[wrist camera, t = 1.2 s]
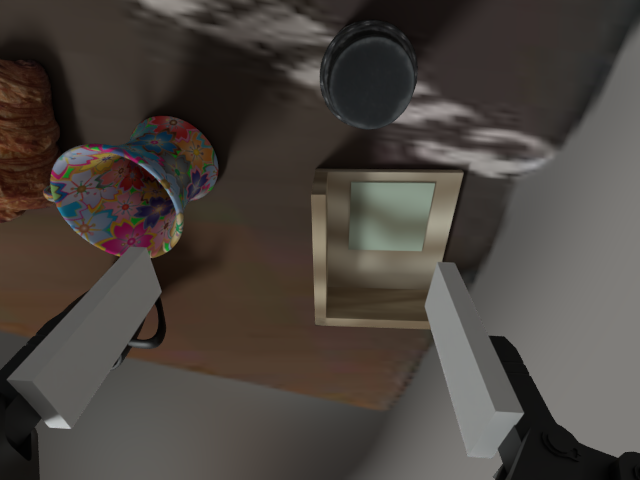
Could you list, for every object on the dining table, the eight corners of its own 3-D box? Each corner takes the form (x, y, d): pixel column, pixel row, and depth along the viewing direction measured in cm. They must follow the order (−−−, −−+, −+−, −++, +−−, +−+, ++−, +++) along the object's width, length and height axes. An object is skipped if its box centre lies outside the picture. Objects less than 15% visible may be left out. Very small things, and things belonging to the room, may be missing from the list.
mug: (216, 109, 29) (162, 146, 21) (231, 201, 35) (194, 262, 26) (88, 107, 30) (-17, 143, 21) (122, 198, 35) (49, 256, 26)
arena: (315, 168, 32) (311, 194, 27) (461, 169, 31) (482, 196, 26) (318, 289, 41) (315, 325, 36) (431, 292, 40) (443, 329, 35)
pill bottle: (405, 91, 28) (436, 126, 19) (336, 113, 29) (333, 155, 20) (391, 7, 25) (420, -1, 15) (315, 36, 26) (300, 44, 17)
